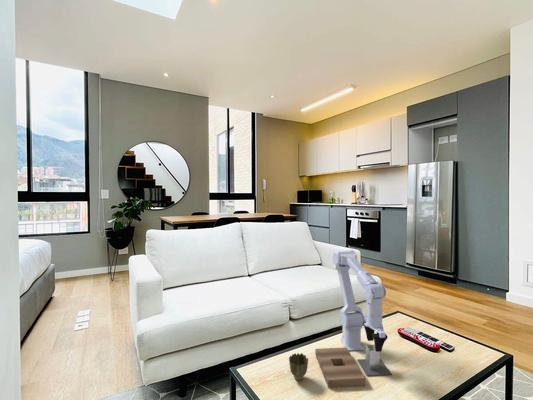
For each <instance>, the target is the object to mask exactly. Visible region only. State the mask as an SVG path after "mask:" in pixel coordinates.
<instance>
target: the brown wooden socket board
mask: <svg viewBox="0 0 533 400" xmlns="http://www.w3.org/2000/svg"><path fill="white" fill-rule="evenodd" d="M314 350H315V353H314V354H315V355H316V356H315V358H316V360H318V361H317V363H318V365H319V368H320V371H321V374H322V375H323V378H324V380H325V383H326V386H327V388H328V389H331V388H349V387H365V386H366V377H365V375H364V374H363V372H362V371H361V369H360V367H359V365H358V364H357V363H356V360H355V359H354V358H353V356H352V354H351V353H350V352H351V351H348V349H347V347H345V346H344V347H330V348H329V347H327V348H326V347H324V348H315V349H314Z"/></svg>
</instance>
